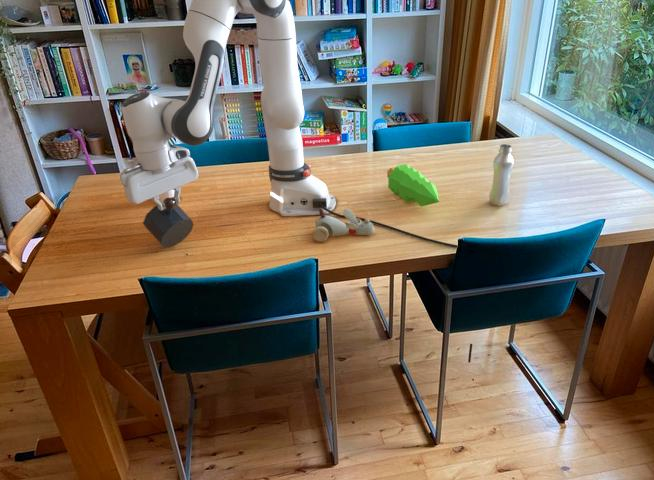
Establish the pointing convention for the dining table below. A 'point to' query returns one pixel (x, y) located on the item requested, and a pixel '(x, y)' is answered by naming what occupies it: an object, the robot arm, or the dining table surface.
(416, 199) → the decorative tree
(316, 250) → the dining table surface
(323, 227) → the toy dog
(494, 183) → the plastic bottle
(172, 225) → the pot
